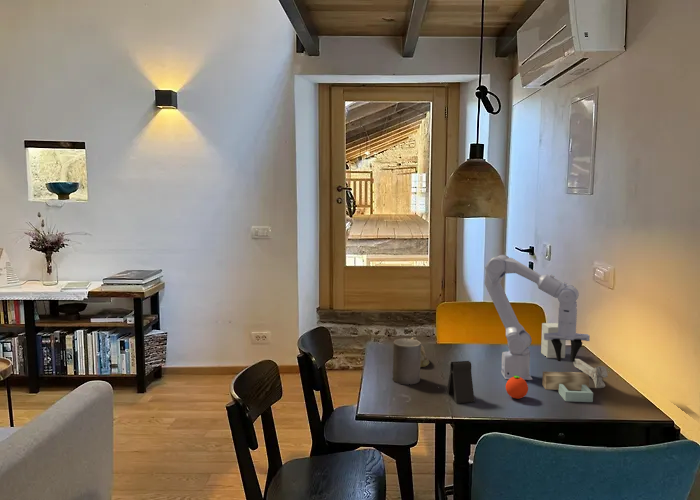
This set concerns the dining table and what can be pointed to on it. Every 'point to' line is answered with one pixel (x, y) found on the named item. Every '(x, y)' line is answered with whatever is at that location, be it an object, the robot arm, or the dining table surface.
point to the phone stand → (460, 382)
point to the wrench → (592, 372)
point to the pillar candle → (406, 361)
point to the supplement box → (547, 345)
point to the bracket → (576, 394)
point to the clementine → (516, 387)
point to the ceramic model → (422, 356)
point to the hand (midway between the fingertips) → (565, 360)
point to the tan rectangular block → (565, 380)
